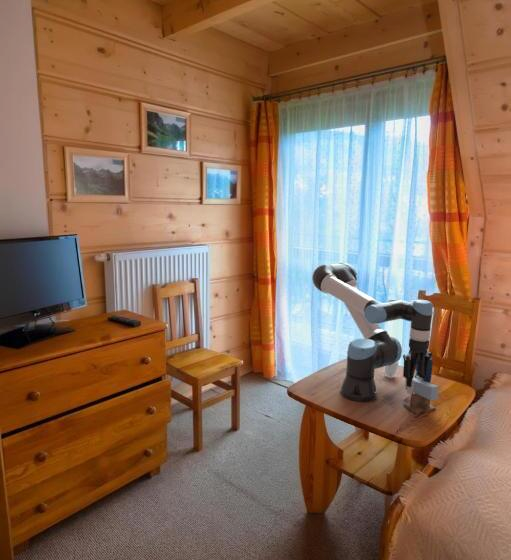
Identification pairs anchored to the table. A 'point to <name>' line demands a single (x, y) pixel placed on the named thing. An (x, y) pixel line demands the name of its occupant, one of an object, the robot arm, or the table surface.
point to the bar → (424, 389)
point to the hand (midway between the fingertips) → (413, 392)
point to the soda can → (428, 377)
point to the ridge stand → (419, 404)
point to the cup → (390, 370)
